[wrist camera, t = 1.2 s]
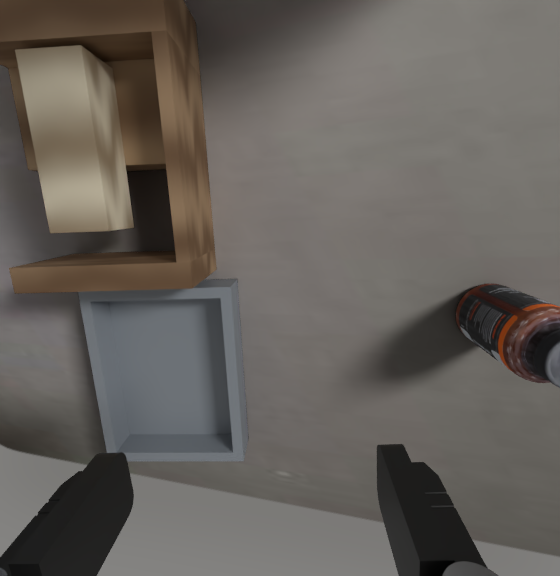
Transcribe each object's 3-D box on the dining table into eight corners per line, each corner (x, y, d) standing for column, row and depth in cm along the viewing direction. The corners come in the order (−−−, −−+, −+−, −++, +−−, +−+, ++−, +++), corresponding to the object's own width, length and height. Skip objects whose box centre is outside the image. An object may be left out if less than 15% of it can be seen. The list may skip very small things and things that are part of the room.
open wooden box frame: (35, 34, 30) (-58, -27, 22) (195, 22, 29) (158, -45, 21) (78, 273, 35) (14, 293, 27) (216, 269, 34) (192, 288, 26)
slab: (56, 72, 27) (14, 49, 23) (112, 68, 26) (80, 45, 22) (82, 229, 29) (50, 233, 25) (134, 227, 29) (109, 231, 25)
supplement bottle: (456, 345, 34) (531, 410, 23) (449, 288, 33) (525, 330, 22) (518, 334, 34) (625, 395, 23) (514, 275, 33) (625, 311, 22)
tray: (99, 282, 35) (77, 291, 31) (237, 278, 34) (230, 286, 30) (124, 438, 39) (108, 461, 35) (248, 438, 38) (243, 461, 35)
